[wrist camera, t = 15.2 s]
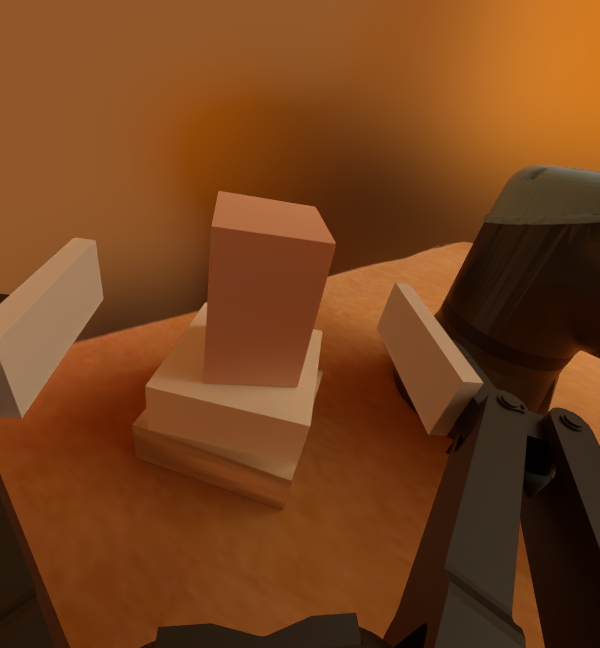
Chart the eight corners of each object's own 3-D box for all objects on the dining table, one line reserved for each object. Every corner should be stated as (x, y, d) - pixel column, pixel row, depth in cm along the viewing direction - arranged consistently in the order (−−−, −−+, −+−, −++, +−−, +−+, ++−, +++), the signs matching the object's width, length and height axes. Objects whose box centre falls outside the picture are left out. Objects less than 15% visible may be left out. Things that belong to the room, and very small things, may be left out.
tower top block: (203, 340, 31) (205, 302, 28) (311, 366, 31) (322, 331, 28) (148, 429, 22) (145, 386, 20) (297, 465, 22) (310, 426, 20)
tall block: (210, 326, 26) (218, 190, 20) (287, 332, 27) (315, 206, 22) (202, 383, 21) (211, 226, 16) (297, 387, 23) (336, 244, 17)
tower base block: (206, 366, 34) (208, 334, 32) (313, 401, 33) (323, 371, 31) (136, 460, 25) (132, 424, 22) (281, 512, 24) (292, 481, 21)
